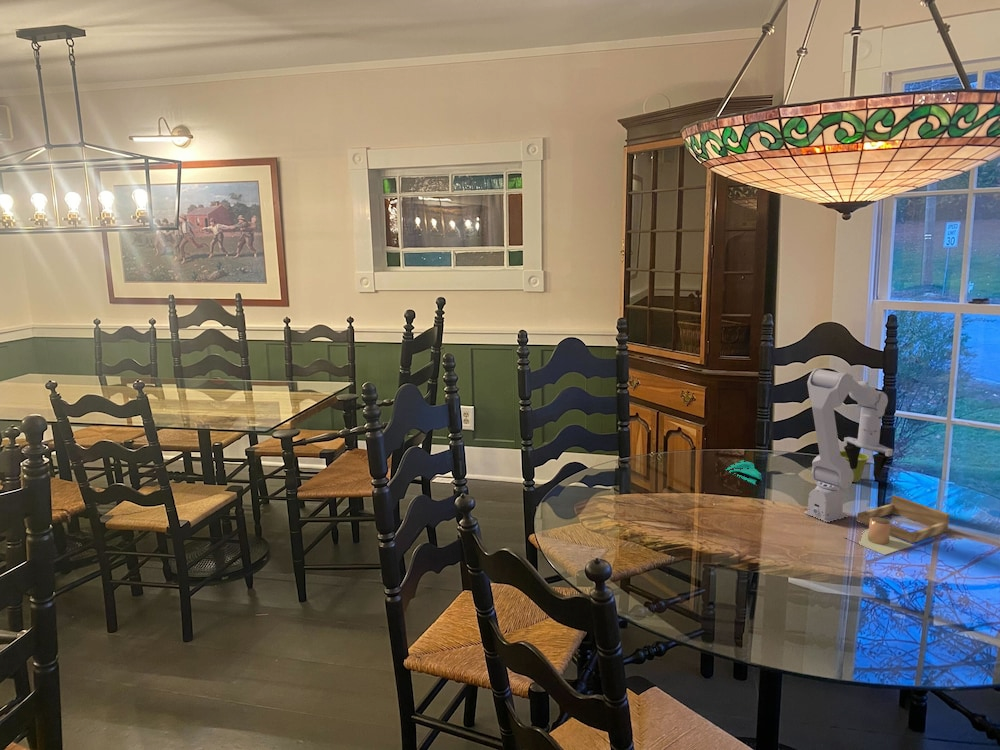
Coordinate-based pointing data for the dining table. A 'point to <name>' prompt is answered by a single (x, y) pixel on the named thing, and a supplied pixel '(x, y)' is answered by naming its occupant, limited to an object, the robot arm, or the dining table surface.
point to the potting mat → (883, 548)
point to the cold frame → (911, 511)
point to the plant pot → (860, 465)
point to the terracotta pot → (879, 530)
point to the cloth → (746, 471)
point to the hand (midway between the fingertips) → (864, 472)
